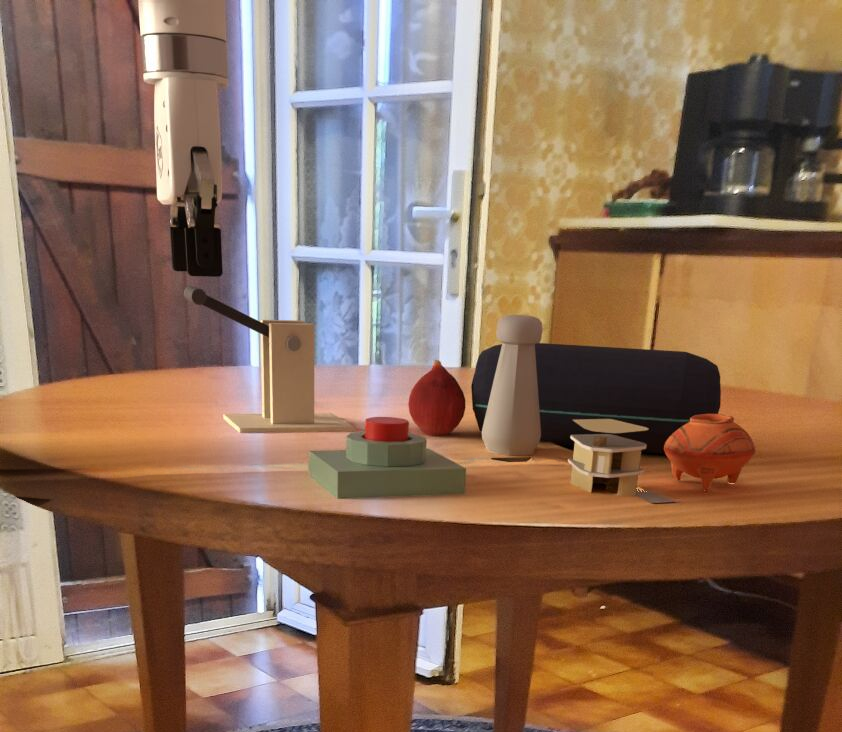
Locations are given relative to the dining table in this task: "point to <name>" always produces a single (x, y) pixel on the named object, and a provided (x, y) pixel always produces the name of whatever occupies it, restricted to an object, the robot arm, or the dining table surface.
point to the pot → (709, 449)
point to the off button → (386, 429)
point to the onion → (437, 402)
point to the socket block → (385, 469)
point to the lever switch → (224, 310)
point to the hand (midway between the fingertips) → (196, 273)
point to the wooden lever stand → (287, 385)
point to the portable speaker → (610, 390)
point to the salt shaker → (514, 391)
